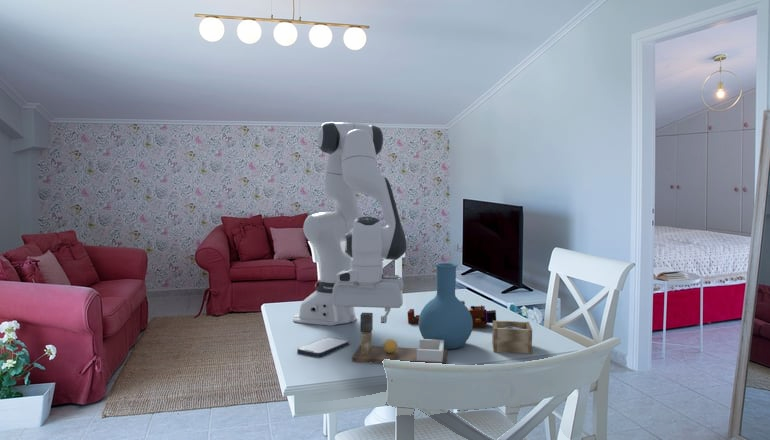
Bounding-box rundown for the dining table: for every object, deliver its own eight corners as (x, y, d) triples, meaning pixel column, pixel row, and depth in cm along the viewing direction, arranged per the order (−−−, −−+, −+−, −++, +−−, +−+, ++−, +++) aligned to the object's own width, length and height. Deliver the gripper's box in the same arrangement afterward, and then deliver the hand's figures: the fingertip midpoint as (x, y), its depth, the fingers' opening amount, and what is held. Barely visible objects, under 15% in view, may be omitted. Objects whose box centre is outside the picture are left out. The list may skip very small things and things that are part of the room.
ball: (382, 354, 165) (382, 340, 165) (384, 350, 169) (384, 337, 169) (396, 355, 165) (396, 341, 164) (398, 351, 169) (398, 337, 168)
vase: (471, 338, 187) (472, 261, 185) (473, 354, 171) (474, 269, 169) (419, 336, 189) (420, 259, 187) (416, 351, 173) (417, 268, 171)
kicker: (359, 354, 165) (359, 316, 164) (363, 348, 171) (363, 311, 170) (369, 354, 165) (370, 316, 164) (373, 348, 171) (373, 311, 170)
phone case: (327, 341, 184) (295, 354, 170) (327, 336, 184) (295, 348, 170) (350, 346, 180) (319, 359, 166) (350, 341, 180) (319, 353, 166)
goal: (416, 360, 160) (416, 349, 160) (419, 348, 171) (420, 338, 171) (442, 361, 159) (442, 351, 159) (443, 350, 170) (444, 339, 170)
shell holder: (493, 351, 173) (494, 328, 172) (492, 342, 183) (492, 320, 182) (531, 353, 171) (532, 330, 171) (528, 344, 181) (528, 321, 181)
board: (352, 361, 163) (352, 357, 163) (359, 349, 174) (360, 345, 174) (445, 366, 159) (445, 362, 159) (447, 353, 171) (447, 349, 171)
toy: (414, 300, 221) (496, 297, 214) (416, 319, 221) (497, 316, 214) (401, 317, 195) (493, 314, 188) (403, 338, 195) (495, 335, 189)
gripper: (404, 273, 168) (404, 320, 169) (335, 271, 171) (335, 318, 172) (402, 277, 162) (402, 326, 163) (330, 275, 165) (330, 323, 165)
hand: (367, 322), depth 167 cm, fingers open, 8 cm apart
